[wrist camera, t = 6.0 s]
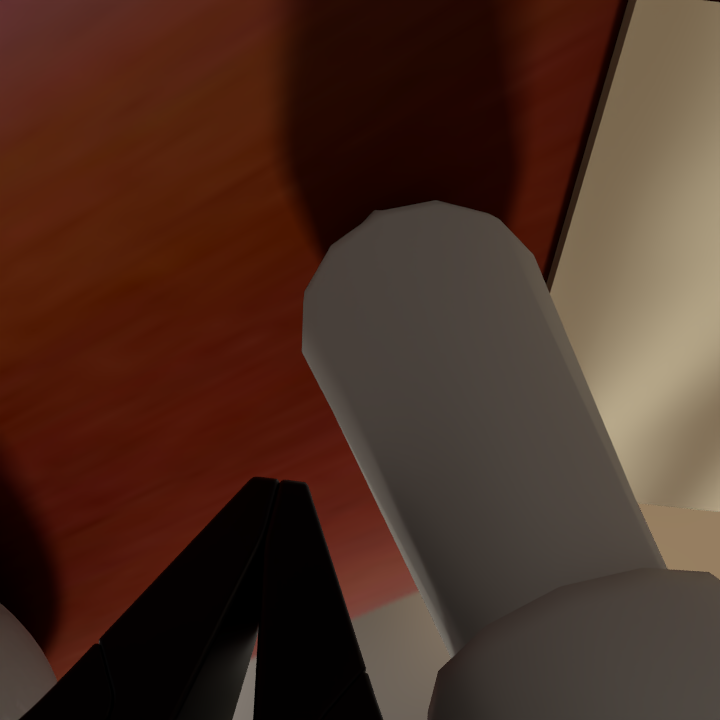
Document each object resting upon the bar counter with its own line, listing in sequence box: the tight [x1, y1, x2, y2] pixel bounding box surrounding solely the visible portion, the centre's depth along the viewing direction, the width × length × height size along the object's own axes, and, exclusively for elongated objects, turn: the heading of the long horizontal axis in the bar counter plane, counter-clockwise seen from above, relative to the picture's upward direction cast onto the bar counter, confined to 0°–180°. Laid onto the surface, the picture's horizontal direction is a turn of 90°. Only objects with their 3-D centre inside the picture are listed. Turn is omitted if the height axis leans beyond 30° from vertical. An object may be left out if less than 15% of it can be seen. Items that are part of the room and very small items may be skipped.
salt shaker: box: [302, 200, 720, 720], centre depth 11 cm, size 6×6×13 cm
